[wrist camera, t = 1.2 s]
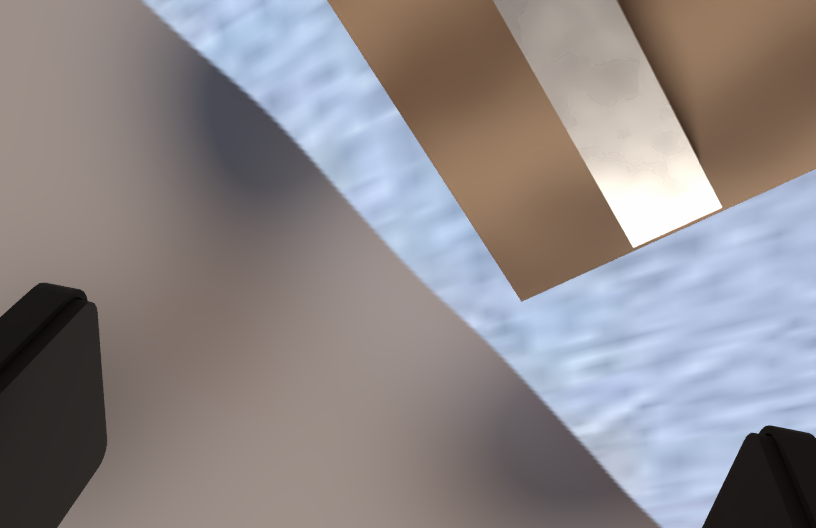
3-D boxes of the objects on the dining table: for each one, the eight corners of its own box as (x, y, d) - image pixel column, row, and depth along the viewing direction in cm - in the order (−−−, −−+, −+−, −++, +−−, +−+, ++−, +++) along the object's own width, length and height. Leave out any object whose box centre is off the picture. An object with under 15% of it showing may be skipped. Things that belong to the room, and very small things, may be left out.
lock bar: (375, -205, 23) (346, -215, 20) (488, -296, 22) (475, -322, 19) (612, 211, 28) (620, 258, 25) (717, 161, 27) (739, 204, 24)
